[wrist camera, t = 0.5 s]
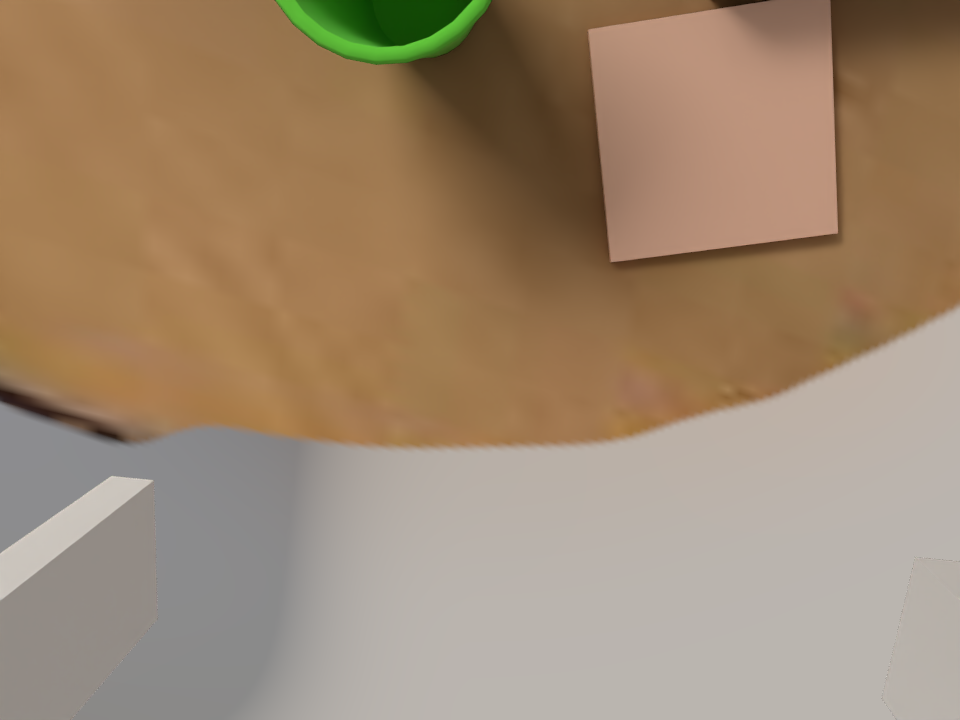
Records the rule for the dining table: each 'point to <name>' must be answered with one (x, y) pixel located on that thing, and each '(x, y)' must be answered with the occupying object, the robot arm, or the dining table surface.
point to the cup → (385, 26)
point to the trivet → (716, 128)
